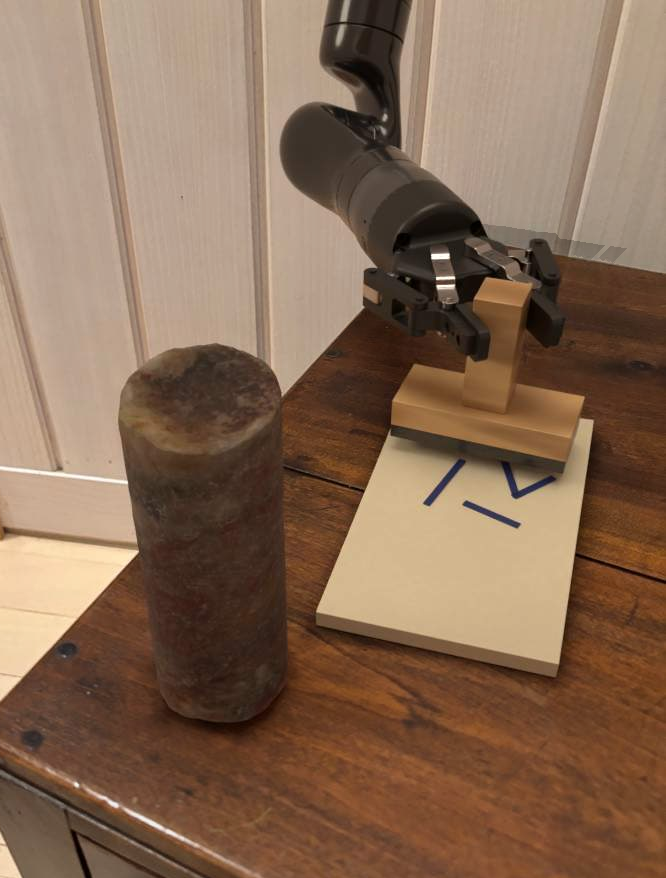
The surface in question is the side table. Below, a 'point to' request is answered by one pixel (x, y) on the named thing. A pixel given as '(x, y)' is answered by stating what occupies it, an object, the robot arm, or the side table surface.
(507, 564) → the board
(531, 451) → the eraser
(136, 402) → the dark brown cylinder
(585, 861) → the side table surface
